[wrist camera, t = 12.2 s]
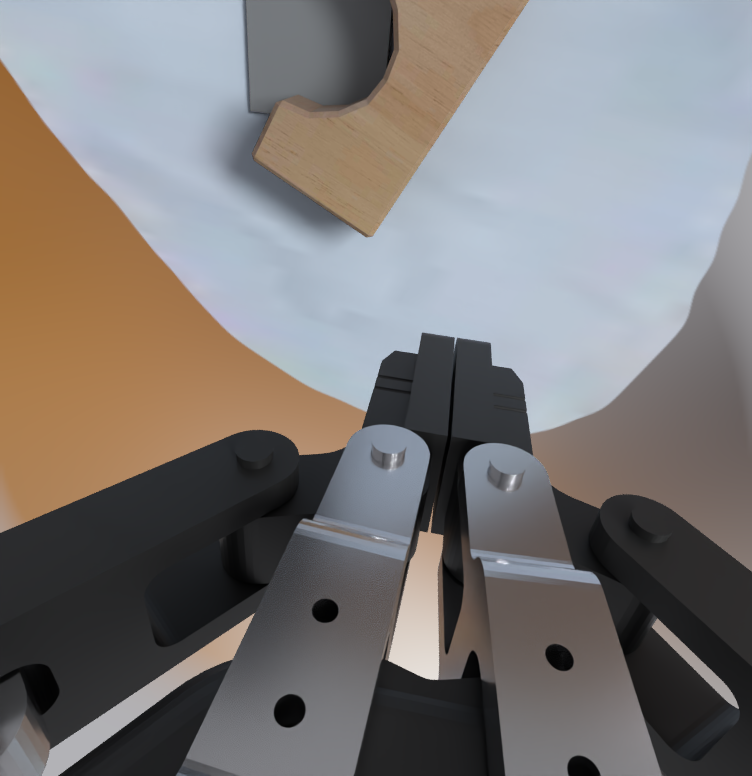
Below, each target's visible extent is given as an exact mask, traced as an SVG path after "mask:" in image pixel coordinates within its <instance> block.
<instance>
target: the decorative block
mask: <svg viewBox="0 0 752 776" xmlns="http://www.w3.org/2000/svg"><path fill="white" fill-rule="evenodd" d="M528 1H529V0H390V3H391V6H392V10H393V33H394V51H393V53H392V56H391V59H390V61H389V64H388V67H387V69H386V72H385V75H384V77H383V79H382V80H381V81H380V83H379V84H378V85H377V86H376V87H375V89H374V90H373V91H372V92H371V94H370V95H369V96H368V97H365V98H363V99H361V100H358V101H356V102H354V103H351V104H349V105H325V106H323V105H321V104H318V103H316V102H314V101H312V100H309V99H307V98H305V97H303V96H300V95H295V96H293V97H290V98H287V99H284V100H281V101H279V102H276V103H275V105H274V107H273V109H272V112H271V114H270V116H269V118H268V120H267V122H266V124H265V126H264V128H263V131H262V133H261V135H260V137H259V139H258V141H257V143H256V145H255V148H254V150H253V152H252V156H253V159H254V161H255V162H257V163H258V164H260V165H261V166H263V167H264V168H266V169H267V170H269V171H270V172H272V173H273V174H274V175H276V176H277V177H279V178H280V179H282V180H283V181H285V182H286V183H288V184H289V185H291V186H292V187H294V188H295V189H296V190H298V191H299V192H301V193H302V194H304V195H305V196H307V197H308V198H310V199H311V200H313V201H314V202H316V203H317V204H318V205H320V206H321V207H323V208H324V209H326V210H327V211H329V212H330V213H332V214H333V215H334V216H336V217H337V218H339V219H340V220H342V221H343V222H345V223H346V224H348V225H349V226H351V227H352V228H353V229H355V230H356V231H358V232H359V233H361V234H362V235H364V236H365V237H371V236H373V235H374V233H375V232H376V230H377V229H378V227H379V226H380V224H381V223H382V221H383V220H384V218H385V217H386V215H387V214H388V212H389V211H390V209H391V208H392V206H393V205H394V203H395V202H396V200H397V199H398V197H399V196H400V194H401V193H402V191H403V190H404V188H405V186H406V185H407V183H408V182H409V180H410V179H411V177H412V176H413V174H414V173H415V171H416V170H417V168H418V167H419V165H420V164H421V162H422V161H423V159H424V158H425V156H426V155H427V153H428V152H429V150H430V149H431V147H432V146H433V144H434V143H435V141H436V140H437V138H438V137H439V135H440V134H441V132H442V131H443V129H444V128H445V126H446V125H447V123H448V122H449V120H450V119H451V117H452V116H453V114H454V113H455V111H456V110H457V108H458V107H459V105H460V104H461V102H462V101H463V99H464V98H465V96H466V95H467V93H468V91H469V90H470V88H471V87H472V85H473V84H474V82H475V81H476V79H477V78H478V76H479V75H480V73H481V72H482V70H483V69H484V67H485V66H486V64H487V63H488V61H489V60H490V58H491V57H492V55H493V54H494V52H495V51H496V49H497V48H498V46H499V45H500V43H501V42H502V40H503V39H504V37H505V36H506V34H507V33H508V31H509V30H510V28H511V27H512V25H513V24H514V22H515V21H516V19H517V18H518V16H519V15H520V13H521V12H522V10H523V9H524V7H525V6H526V4H527V3H528Z"/></svg>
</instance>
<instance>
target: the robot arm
mask: <svg viewBox="0 0 752 776" xmlns="http://www.w3.org/2000/svg"><path fill="white" fill-rule="evenodd" d="M454 341H455V338H454V337H448V336H441V335H435V334H428V333H422V336H421V341H420V347H419V352H418V354H413V353H407V352H400V351H394V352H393V353H391V354H390V355H389V356H388V357H386V358H385V359H384V360H383V361H382V363H381V366H380V369H379V373H378V377H377V380H376V383H375V387H374V390H373V393H372V396H371V400H370V403H369V406H368V410H367V413H366V416H365V420H364V423H363V426H362V429H361V430H359V431H358V432H356V433H355V434H354V435H353V436H352V437H351V438H350V440H349V441H348V443H347V446H346V447H345V448H343V449H340V450H338V451H335V452H331V453H324V454H313V455H299V453H298V449H297V447H296V446H295V444H294V443H293V442H292V441H291V440H289V439H288V438H287V437H285V436H283V435H281V434H278V433H276V432H272V431H265V430H250V431H244V432H240V433H237V434H234V435H231V436H229V437H226V438H224V439H222V440H219V441H217V442H215V443H212V444H210V445H207V446H205V447H203V448H200V449H198V450H196V451H193V452H191V453H189V454H186V455H184V456H181V457H180V458H177V459H174V460H172V461H170V462H167V463H165V464H163V465H160V466H158V467H155V468H153V469H151V470H148V471H146V472H144V473H142V474H139V475H137V476H134V477H132V478H129V479H127V480H125V481H122V482H120V483H118V484H115V485H113V486H111V487H108V488H106V489H103V490H101V491H99V492H96V493H94V494H92V495H89V496H87V497H85V498H82V499H80V500H78V501H75V502H73V503H71V504H68V505H66V506H63V507H61V508H58V509H56V510H54V511H51V512H49V513H47V514H44V515H42V516H40V517H38V518H35V519H33V520H30V521H28V522H25V523H23V524H21V525H18V526H16V527H14V528H11V529H9V530H7V531H4V532H2V533H0V776H41V775H42V773H43V771H44V769H45V766H46V763H47V760H48V757H49V750H50V749H51V748H53V747H55V746H56V745H58V744H59V743H60V742H62V741H64V740H65V739H66V738H68V737H70V736H71V735H72V734H74V733H75V732H77V731H79V730H80V729H81V728H83V727H84V726H86V725H87V724H89V723H90V722H92V721H93V720H95V719H96V718H98V717H99V716H101V715H102V714H104V713H105V712H107V711H108V710H110V709H111V708H113V707H114V706H116V705H117V704H119V703H120V702H122V701H123V700H125V699H126V698H128V697H129V696H131V695H132V694H134V693H135V692H137V691H138V690H140V689H141V688H143V687H144V686H146V685H147V684H149V683H150V682H152V681H153V680H155V679H156V678H158V677H159V676H161V675H162V674H164V673H165V672H167V671H168V670H170V669H171V668H173V667H174V666H176V665H177V664H179V663H180V662H182V661H183V660H185V659H186V658H187V657H189V656H191V655H192V654H194V653H195V652H197V651H198V650H200V649H201V648H203V647H204V646H206V645H207V644H209V643H210V642H212V641H213V640H214V639H216V638H218V637H219V636H221V635H222V634H223V633H225V632H227V631H228V630H230V629H231V628H233V627H234V626H236V625H237V624H239V623H240V622H242V621H243V620H245V619H246V618H248V617H249V616H250V615H252V614H254V613H255V614H254V616H253V618H252V621H251V623H250V625H249V627H248V629H247V631H246V633H245V635H244V638H243V639H242V641H241V644H240V646H239V648H238V650H237V652H236V654H235V656H234V658H233V660H230V661H227V662H224V663H222V664H219V665H217V666H215V667H213V668H210V669H208V670H206V671H204V672H202V673H200V674H199V675H197V676H195V677H193V678H192V679H190V680H188V681H186V682H185V683H184V684H182V685H181V686H179V687H178V688H176V689H175V690H173V691H172V692H171V693H169V694H168V695H167V696H165V697H164V698H163V699H161V700H160V701H159V702H157V703H156V704H155V705H153V706H152V707H150V708H149V709H148V710H146V711H145V712H144V713H142V714H141V715H140V716H138V717H137V718H136V719H134V720H133V721H132V722H130V723H129V724H128V725H127V726H125V727H124V728H122V729H121V730H119V731H118V732H117V733H116V734H114V735H113V736H111V737H110V738H109V739H107V740H106V741H105V742H103V743H102V744H101V745H99V746H98V747H97V748H95V749H94V750H92V751H91V752H90V753H88V754H87V755H86V756H84V757H83V758H82V759H80V760H79V761H78V762H76V763H75V764H74V765H72V766H71V767H69V768H68V769H67V770H65V771H64V772H63V773H61V774H60V775H59V776H752V572H751V571H750V570H749V569H747V568H746V567H745V566H744V565H742V564H741V563H740V562H738V561H737V560H736V559H735V558H733V557H732V556H731V555H729V554H728V553H727V552H726V551H724V550H723V549H722V548H720V547H719V546H718V545H717V544H715V543H714V542H713V541H711V540H710V539H709V538H708V537H706V536H705V535H704V534H702V533H701V532H700V531H699V530H697V529H696V528H694V527H693V526H692V525H691V524H689V523H688V522H687V521H686V520H684V519H683V518H682V517H680V516H679V515H678V514H677V513H675V512H674V511H672V510H671V509H669V508H668V507H666V506H664V505H663V504H661V503H658V502H656V501H654V500H651V499H648V498H645V497H642V496H637V495H624V494H623V495H616V496H613V497H611V498H609V499H607V500H606V501H605V502H604V503H603V505H602V506H601V508H600V509H599V508H596V507H594V506H591V505H589V504H586V503H584V502H582V501H579V500H576V499H574V498H572V497H570V496H568V495H566V494H564V493H562V492H560V491H559V490H557V489H556V488H554V487H553V486H552V485H551V484H550V480H549V476H548V474H547V471H546V469H545V468H544V466H543V465H542V464H541V463H540V462H539V461H538V460H537V459H536V458H535V457H534V456H533V453H532V445H531V438H530V431H529V423H528V416H527V413H526V411H527V409H526V402H525V394H524V387H523V383H522V381H521V380H520V379H519V378H518V376H517V375H516V374H515V373H514V371H513V370H512V369H510V368H504V367H497V366H492V358H491V343H488V342H481V341H475V340H468V339H462V338H457V340H456V344H455V349H454ZM433 503H434V505H433ZM432 507H433V516H432V527H431V533H435V534H441V535H444V537H443V550H442V554H441V558H440V563H439V566H438V615H439V616H438V617H439V679H438V680H430V679H425V678H423V677H420V676H418V675H416V674H414V673H412V672H410V671H408V670H406V669H404V668H402V667H400V666H398V665H396V664H393V663H392V662H389V661H388V658H389V654H390V649H391V645H392V640H393V636H394V631H395V627H396V623H397V618H398V614H399V609H400V605H401V600H402V596H403V591H404V586H405V582H406V578H407V574H408V569H409V564H410V560H411V558H412V557H413V555H414V553H415V551H416V547H417V542H418V537H419V532H420V531H423V532H427V531H428V527H429V522H430V517H431V513H432ZM657 618H658V619H659V620H660V621H661V622H662V623H663V624H664V625H665V626H666V627H667V628H668V629H669V630H670V631H671V632H673V633H674V634H675V635H676V636H677V637H678V638H679V639H680V640H681V641H682V642H683V643H684V644H685V645H686V646H687V647H688V648H689V649H690V650H691V651H692V652H693V653H694V654H695V655H696V656H697V657H698V658H699V659H700V660H701V661H703V662H704V663H705V664H706V665H707V666H708V667H709V668H710V669H711V670H712V671H713V672H714V673H715V674H716V675H717V676H718V677H719V678H720V679H721V680H722V681H724V683H725V684H726V685H727V686H728V687H729V689H730V690H731V692H732V693H733V695H734V697H735V699H736V701H737V703H738V706H739V709H737V708H735V707H734V706H732V705H731V704H729V703H728V702H727V701H726V700H725V699H724V698H722V697H721V695H720V694H718V693H717V692H716V691H715V690H714V689H713V688H712V687H711V686H710V685H709V684H708V683H707V682H706V681H705V680H704V679H703V678H702V677H701V676H700V675H699V674H698V673H697V672H696V671H695V670H694V669H693V668H692V667H691V666H690V665H689V664H688V663H687V662H686V661H685V660H684V659H683V658H682V657H681V656H680V655H679V654H678V653H677V652H676V651H675V650H674V649H673V648H672V647H671V646H670V645H669V644H668V643H667V642H666V641H665V640H664V639H663V638H662V637H661V636H660V635H659V634H658V633H657V632H656V631H655V630H654V629H653V628H652V625H653V624H654V622H655V621H656V619H657Z"/></svg>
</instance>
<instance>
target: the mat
mask: <svg viewBox="0 0 752 776" xmlns="http://www.w3.org/2000/svg"><path fill="white" fill-rule="evenodd" d="M246 13H247V39H248V64H249V90H250V111H253V112H261V113H269V114H271V112H272V109H273V107H274V105H275V103H276V102H279V101H281V100H284V99H287V98H290V97H293V96H295V95H300V96H303V97H305V98H307V99H309V100H312V101H314V102H316V103H318V104H321V105H323V106H325V105H349V104H351V103H354V102H356V101H358V100H361V99H363V98H365V97H368V96H369V95H370V94H371V92H372V91H373V90H374V89H375V87H376V86H377V85H378V84H379V83H380V81H381V80H382V79H383V77H384V75H385V72H386V69H387V65H388V54H389V42H390V30H391V19H392V6H391V3H390V0H246Z"/></svg>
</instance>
